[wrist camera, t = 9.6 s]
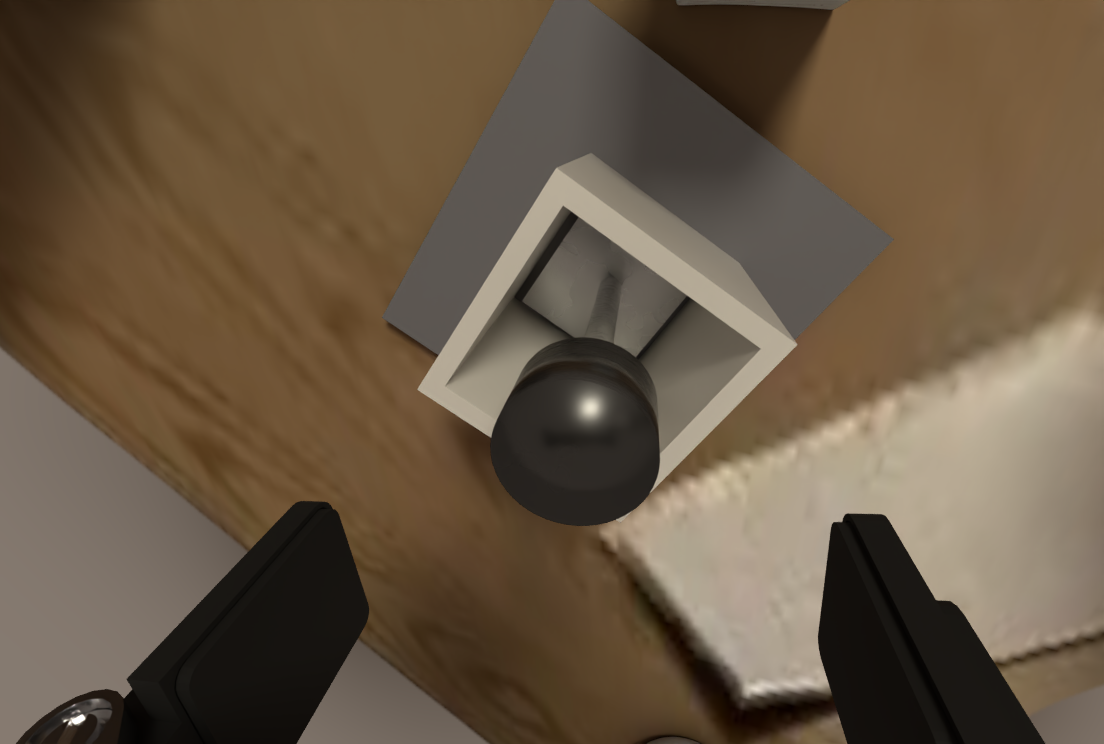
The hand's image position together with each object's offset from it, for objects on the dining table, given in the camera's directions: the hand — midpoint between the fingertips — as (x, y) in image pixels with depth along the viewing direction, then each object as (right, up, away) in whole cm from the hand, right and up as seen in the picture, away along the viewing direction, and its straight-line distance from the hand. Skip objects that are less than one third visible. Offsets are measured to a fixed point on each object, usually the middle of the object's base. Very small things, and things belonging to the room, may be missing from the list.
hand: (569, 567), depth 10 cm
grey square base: (+3, +9, +21) cm, 23 cm away
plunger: (+3, +9, +19) cm, 21 cm away
